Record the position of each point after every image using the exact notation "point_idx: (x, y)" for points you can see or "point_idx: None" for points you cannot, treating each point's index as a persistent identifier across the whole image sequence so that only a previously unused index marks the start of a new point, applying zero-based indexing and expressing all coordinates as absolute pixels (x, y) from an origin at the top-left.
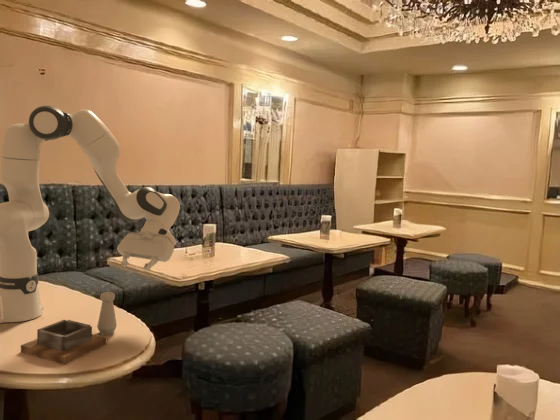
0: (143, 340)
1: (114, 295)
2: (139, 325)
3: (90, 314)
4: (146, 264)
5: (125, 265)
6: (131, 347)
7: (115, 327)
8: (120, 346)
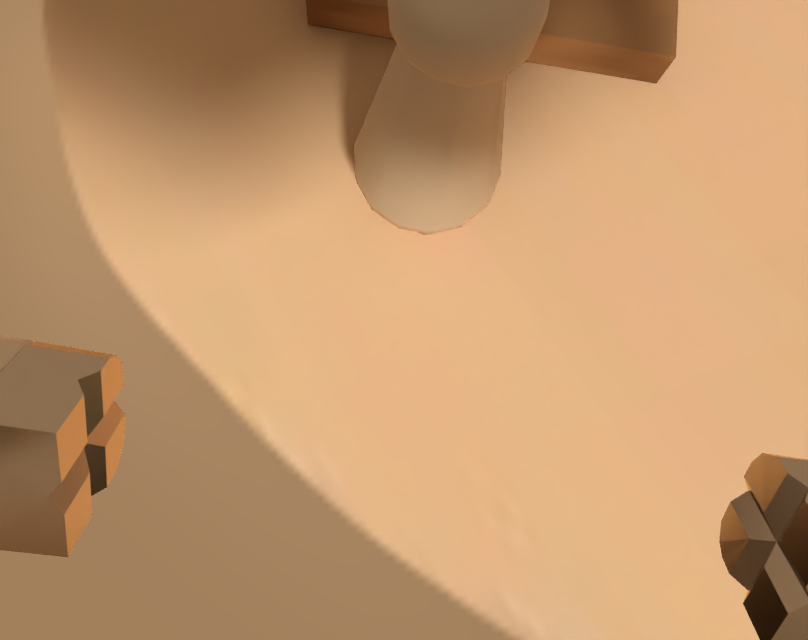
0: (98, 157)
1: (398, 11)
2: (274, 417)
3: None
4: (19, 398)
5: (746, 513)
6: (124, 32)
7: (355, 170)
8: (202, 24)
